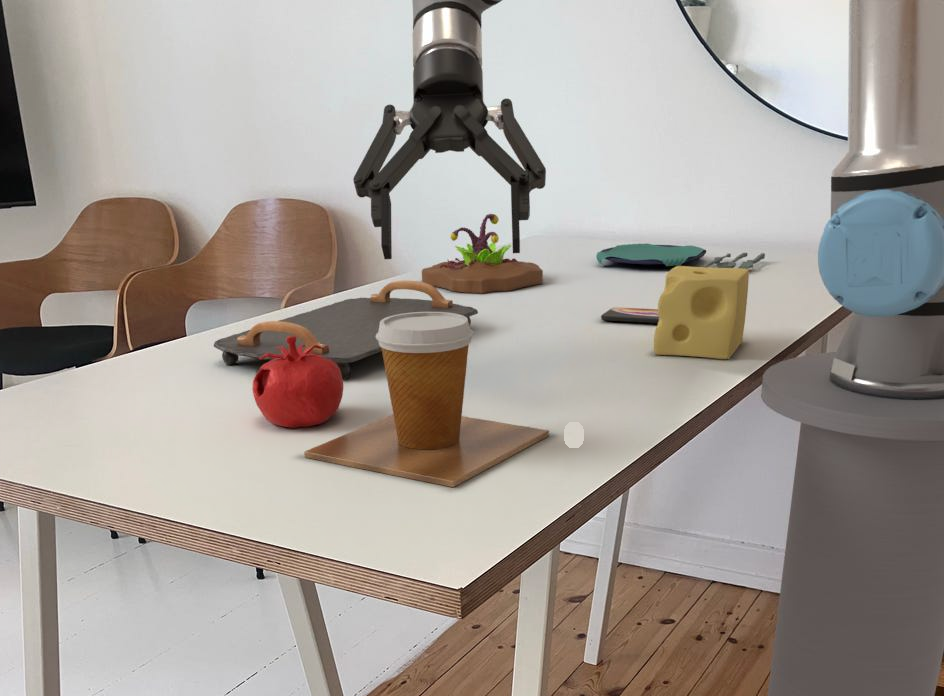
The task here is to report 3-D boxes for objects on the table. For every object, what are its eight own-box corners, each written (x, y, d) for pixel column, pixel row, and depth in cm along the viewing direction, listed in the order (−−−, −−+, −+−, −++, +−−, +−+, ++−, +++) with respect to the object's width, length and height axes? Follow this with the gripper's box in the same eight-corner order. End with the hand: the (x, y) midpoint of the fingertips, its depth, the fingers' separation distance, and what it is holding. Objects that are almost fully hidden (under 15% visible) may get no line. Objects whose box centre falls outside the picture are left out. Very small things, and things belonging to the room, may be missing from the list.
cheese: (652, 355, 144) (657, 276, 139) (670, 337, 153) (675, 262, 148) (732, 361, 140) (740, 280, 136) (746, 342, 149) (754, 265, 144)
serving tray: (363, 312, 173) (360, 272, 170) (492, 325, 163) (491, 281, 160) (196, 369, 144) (189, 320, 141) (341, 388, 133) (336, 336, 130)
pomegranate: (357, 408, 125) (352, 325, 121) (328, 434, 116) (321, 346, 112) (276, 405, 127) (267, 323, 123) (241, 430, 119) (231, 344, 114)
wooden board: (549, 435, 114) (549, 430, 114) (453, 487, 101) (453, 481, 101) (409, 412, 123) (408, 407, 123) (304, 457, 110) (303, 451, 110)
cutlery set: (622, 252, 220) (622, 240, 219) (770, 261, 207) (771, 248, 206) (581, 268, 205) (581, 255, 204) (738, 278, 192) (739, 264, 191)
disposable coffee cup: (487, 430, 115) (485, 312, 109) (457, 458, 107) (453, 333, 101) (402, 423, 117) (397, 308, 112) (367, 450, 109) (359, 328, 104)
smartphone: (612, 306, 168) (710, 311, 163) (612, 312, 169) (710, 317, 164) (599, 315, 162) (700, 320, 157) (599, 321, 162) (700, 327, 157)
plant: (563, 282, 192) (564, 214, 187) (471, 297, 182) (470, 225, 177) (496, 268, 207) (495, 205, 202) (408, 281, 197) (405, 214, 192)
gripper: (562, 86, 122) (569, 262, 118) (339, 98, 123) (338, 273, 119) (564, 37, 114) (572, 224, 110) (327, 50, 115) (326, 235, 112)
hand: (451, 249), depth 115 cm, fingers open, 13 cm apart
